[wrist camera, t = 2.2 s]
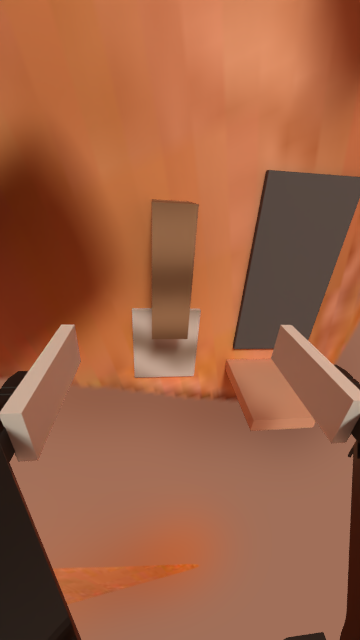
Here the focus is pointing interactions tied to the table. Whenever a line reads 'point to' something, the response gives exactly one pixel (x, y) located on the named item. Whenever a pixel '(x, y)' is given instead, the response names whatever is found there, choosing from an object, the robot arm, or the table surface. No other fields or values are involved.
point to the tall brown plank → (169, 296)
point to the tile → (266, 396)
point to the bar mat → (293, 253)
